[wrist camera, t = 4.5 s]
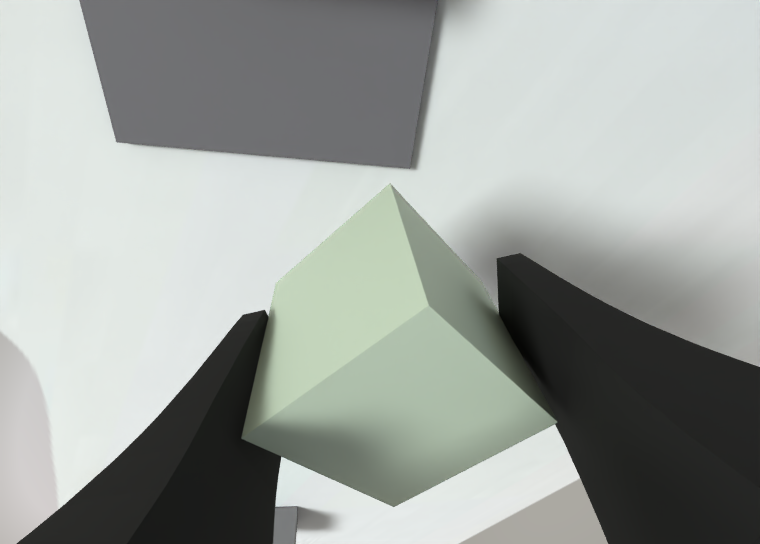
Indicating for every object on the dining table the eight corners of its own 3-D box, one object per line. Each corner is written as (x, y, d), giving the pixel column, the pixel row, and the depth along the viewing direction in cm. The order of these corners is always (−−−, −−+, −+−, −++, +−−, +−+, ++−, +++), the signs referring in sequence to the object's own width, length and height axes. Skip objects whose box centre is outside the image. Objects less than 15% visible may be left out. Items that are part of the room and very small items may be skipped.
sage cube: (481, 281, 12) (557, 422, 8) (376, 355, 13) (394, 506, 9) (390, 183, 10) (428, 305, 6) (275, 283, 11) (241, 438, 7)
